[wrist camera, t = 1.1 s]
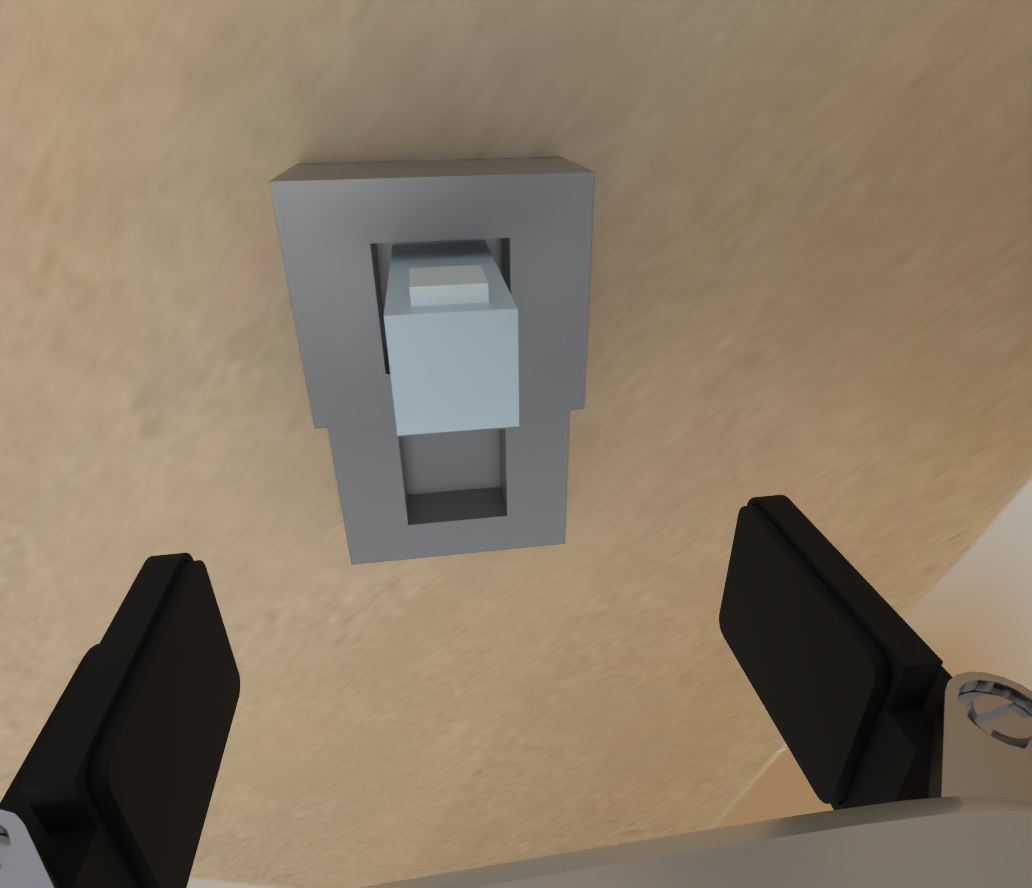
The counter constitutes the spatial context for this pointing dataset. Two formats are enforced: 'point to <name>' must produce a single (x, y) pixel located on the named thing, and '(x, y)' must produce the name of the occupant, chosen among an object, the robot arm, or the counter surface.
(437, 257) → the plug
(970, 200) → the counter surface
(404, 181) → the socket panel
